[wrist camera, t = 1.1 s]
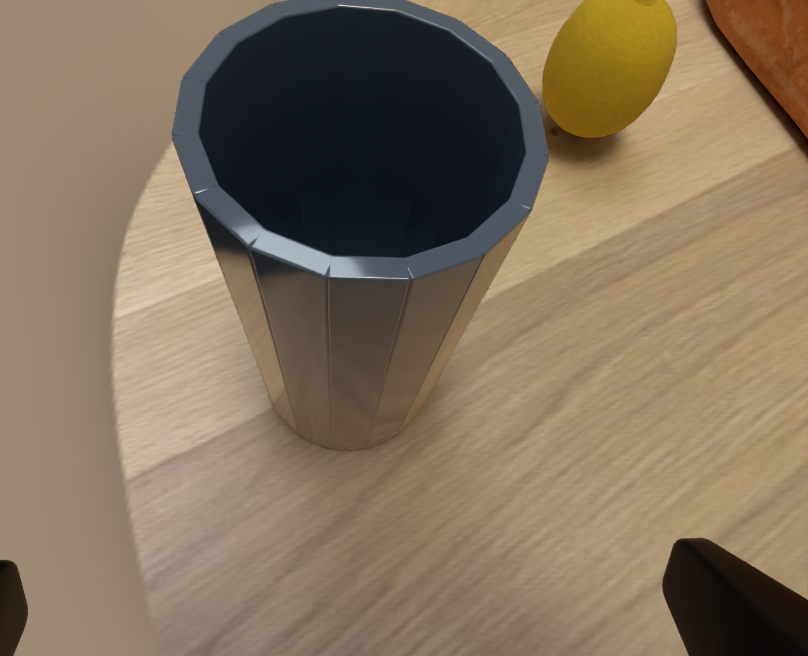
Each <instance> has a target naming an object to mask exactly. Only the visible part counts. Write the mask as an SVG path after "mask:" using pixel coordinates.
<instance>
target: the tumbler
mask: <svg viewBox="0 0 808 656" xmlns="http://www.w3.org/2000/svg"><path fill="white" fill-rule="evenodd" d="M172 140H173V143H174V146H175V148H176V151H177V154H178V157H179V159H180V162H181V165H182V168H183V170H184V173H185V176H186V179H187V181H188V184H189V187H190V189H191V192H192V195H193V198H194V200H195V203H196V205H197V208H198V211H199V213H200V216H201V218H202V221H203V224H204V226H205V229H206V231H207V234H208V237H209V239H210V242H211V245H212V247H213V250H214V252H215V255H216V258H217V260H218V263H219V265H220V268H221V271H222V273H223V276H224V278H225V281H226V284H227V286H228V289H229V292H230V294H231V297H232V299H233V302H234V305H235V307H236V310H237V312H238V315H239V318H240V320H241V323H242V325H243V328H244V331H245V333H246V336H247V339H248V341H249V344H250V346H251V349H252V352H253V354H254V357H255V359H256V362H257V365H258V367H259V370H260V372H261V375H262V378H263V380H264V383H265V386H266V388H267V391H268V393H269V396H270V399H271V401H272V404H273V406H274V408H275V410H276V411H277V412H278V414H279V415H280V417H281V418H282V420H283V421H284V422H285V423H286V424H287V425H288V426H289V427H290V428H291V429H292V430H293V431H294V432H295V433H297V434H298V435H300V436H301V437H302V438H304V439H306V440H308V441H310V442H312V443H314V444H316V445H319V446H322V447H325V448H330V449H335V450H347V451H349V450H361V449H365V448H370V447H373V446H376V445H379V444H381V443H383V442H385V441H387V440H389V439H391V438H393V437H394V436H396V435H397V434H398V433H400V432H401V431H402V430H403V429H404V428H405V427H406V426H408V424H409V423H410V422H411V421H412V420H413V418H414V417H415V416H416V414H417V413H418V412H419V411H420V410H421V408H422V407H423V405H424V403H425V401H426V399H427V398H428V396H429V394H430V392H431V390H432V389H433V387H434V385H435V383H436V381H437V380H438V378H439V376H440V374H441V373H442V371H443V369H444V367H445V365H446V364H447V362H448V360H449V358H450V356H451V355H452V353H453V351H454V349H455V347H456V346H457V344H458V342H459V340H460V338H461V337H462V335H463V333H464V331H465V329H466V328H467V326H468V324H469V322H470V321H471V319H472V317H473V315H474V313H475V312H476V310H477V308H478V306H479V304H480V303H481V301H482V299H483V297H484V295H485V294H486V292H487V290H488V288H489V286H490V285H491V283H492V281H493V279H494V277H495V276H496V274H497V272H498V270H499V268H500V267H501V265H502V263H503V261H504V260H505V258H506V256H507V254H508V252H509V251H510V249H511V247H512V245H513V243H514V242H515V240H516V238H517V236H518V234H519V233H520V231H521V229H522V227H523V225H524V224H525V222H526V220H527V218H528V216H529V215H530V213H531V211H532V209H533V206H534V203H535V200H536V197H537V194H538V191H539V188H540V185H541V182H542V179H543V176H544V173H545V170H546V167H547V164H548V161H549V158H548V157H549V153H548V147H547V141H546V136H545V130H544V124H543V119H542V113H541V107H540V104H539V101H538V100H537V98H536V97H535V95H534V94H533V92H532V91H531V89H530V88H529V86H528V85H527V83H526V82H525V80H524V79H523V78H522V76H521V75H520V73H519V72H518V70H517V69H516V67H515V66H514V64H513V63H512V61H511V60H510V58H509V57H507V56H506V54H505V53H503V52H502V51H501V50H499V49H498V48H497V47H495V46H494V45H493V44H491V43H490V42H488V41H487V40H486V39H484V38H483V37H482V36H480V35H479V34H478V33H476V32H475V31H474V30H472V29H471V28H469V27H468V26H467V25H465V24H464V23H463V22H461V21H458V20H457V19H456V18H453V17H450V16H448V15H445V14H442V13H439V12H437V11H434V10H431V9H429V8H426V7H423V6H420V5H418V4H415V3H412V2H410V1H407V0H287V1H281V2H276V3H274V4H270V5H268V6H266V7H264V8H262V9H260V10H259V11H257V12H255V13H253V14H251V15H249V16H247V17H246V18H244V19H242V20H240V21H238V22H236V23H234V24H233V25H231V26H229V27H227V28H225V29H223V30H222V31H220V32H219V33H218V34H217V35H216V36H215V37H214V38H213V40H212V41H211V42H210V43H209V45H208V46H207V47H206V48H205V50H204V51H203V52H202V53H201V54H200V56H199V57H198V58H197V59H196V61H195V62H194V63H193V65H192V66H191V67H190V68H189V70H188V71H187V72H186V73H185V74H184V76H183V79H182V80H181V85H180V91H179V96H178V102H177V107H176V113H175V119H174V124H173V130H172Z"/></svg>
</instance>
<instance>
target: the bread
mask: <svg viewBox="0 0 808 656" xmlns="http://www.w3.org/2000/svg"><path fill="white" fill-rule="evenodd" d="M706 2H707V4H708V7H709V9H710V11H711V14H712V16H713V19H714V21H715V23H716V25H717V26H718V27H719V29H720V30H721V31H722V33H723V34H724V35H725V37H726V38H727V39H728V41H729V42H730V43H731V45H732V46H733V47H734V49H735V50H736V51H737V52H738V54H739V55H740V56H741V58H742V59H743V60H744V62H745V63H746V64H747V65H748V67H749V68H750V69H751V70H752V71H753V73H754V74H755V75H756V76H757V77H758V79H759V80H760V81H761V82H762V83H763V85H764V86H765V87H766V88H767V89H768V91H769V92H770V93H771V94H772V95H773V97H774V98H775V99H776V100H777V101H778V102H779V104H780V105H781V106H782V107H783V108H784V110H785V111H786V112H787V113H788V114H789V116H790V117H791V118H792V119H793V120H794V122H795V123H796V124H797V126H798V127H799V128H800V130H801V131H802V132H803V133H804V135H805V136H806V137H807V139H808V0H706Z"/></svg>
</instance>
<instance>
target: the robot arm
mask: <svg viewBox="0 0 808 656" xmlns="http://www.w3.org/2000/svg"><path fill="white" fill-rule="evenodd" d="M662 587H663V593H664V597H665V600H666V602H667V605H668V607H669V610H670V612H671V614H672V617H673V619H674V621H675V624H676V626H677V628H678V631H679V633H680V636H681V638H682V640H683V643H684V645H685V647H686V650H687V652H688V655H689V656H808V600H807V599H806V598H804V597H802V596H801V595H799V594H797V593H796V592H794V591H792V590H791V589H789V588H787V587H786V586H784V585H783V584H781V583H779V582H778V581H776V580H774V579H773V578H771V577H769V576H768V575H766V574H764V573H763V572H761V571H759V570H758V569H756V568H755V567H753V566H751V565H750V564H748V563H746V562H745V561H743V560H741V559H740V558H738V557H736V556H735V555H733V554H731V553H730V552H728V551H727V550H725V549H723V548H722V547H720V546H718V545H717V544H715V543H713V542H712V541H710V540H708V539H704V538H683V539H679V540H677V541H676V542H675V543H674V545H673V548H672V551H671V554H670V558H669V561H668V564H667V567H666V571H665V574H664V577H663V585H662ZM27 616H28V606H27V601H26V598H25V594H24V590H23V586H22V582H21V578H20V575H19V571H18V568H17V565H16V564H15V563H14V562H12V561H9V560H0V656H13V655H14V653H15V650H16V648H17V645H18V643H19V641H20V638H21V636H22V633H23V631H24V628H25V625H26V622H27Z"/></svg>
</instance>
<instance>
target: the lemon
mask: <svg viewBox="0 0 808 656" xmlns="http://www.w3.org/2000/svg"><path fill="white" fill-rule="evenodd" d="M676 46H677V26H676V22H675V19H674V16H673V13H672V11H671V8H670V7H669V5H668V4H667V2H666V1H665V0H584V1H583V2H582V3H581V4H580V5H579V6H578V7H577V8H576V10H575V11H574V12H573V13H572V14H571V16H570V17H569V18H568V19H567V21H566V22H565V23H564V25H563V26H562V28H561V29H560V31H559V32H558V34H557V36H556V38H555V40H554V42H553V44H552V46H551V49H550V51H549V54H548V57H547V60H546V63H545V67H544V71H543V79H542V84H543V98H544V102H545V105H546V108H547V110H548V112H549V114H550V116H551V117H552V119H553V120H554V121H555V122H556V123H557V124H558V125H559V126H560V127H561V128H562V129H564V130H565V131H567V132H568V133H571V134H573V135H576V136H580V137H585V138H598V137H602V136H607V135H611V134H613V133H616V132H618V131H620V130H621V129H623V128H625V127H627V126H628V125H630V124H631V123H632V122H634V121H635V120H636V119H637V118H638V117H639V116H640V115H641V114H642V113H643V112H644V111H645V110H646V109H647V107H648V106H649V105H650V104H651V103H652V101H653V100H654V99H655V97H656V96H657V94H658V93H659V91H660V89H661V87H662V85H663V84H664V81H665V79H666V77H667V74H668V72H669V69H670V67H671V64H672V61H673V58H674V55H675V51H676Z"/></svg>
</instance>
